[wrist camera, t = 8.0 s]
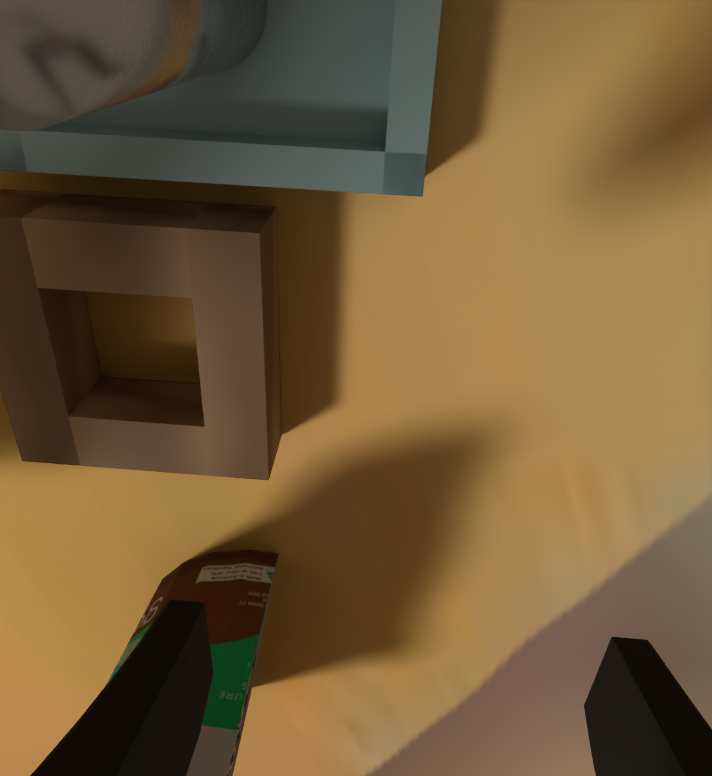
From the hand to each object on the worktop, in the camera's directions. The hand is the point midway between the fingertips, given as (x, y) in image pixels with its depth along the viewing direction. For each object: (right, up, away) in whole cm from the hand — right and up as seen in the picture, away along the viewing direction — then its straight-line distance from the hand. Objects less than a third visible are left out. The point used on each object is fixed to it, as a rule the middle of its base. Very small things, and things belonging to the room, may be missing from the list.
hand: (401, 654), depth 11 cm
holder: (-7, +7, +9) cm, 13 cm away
